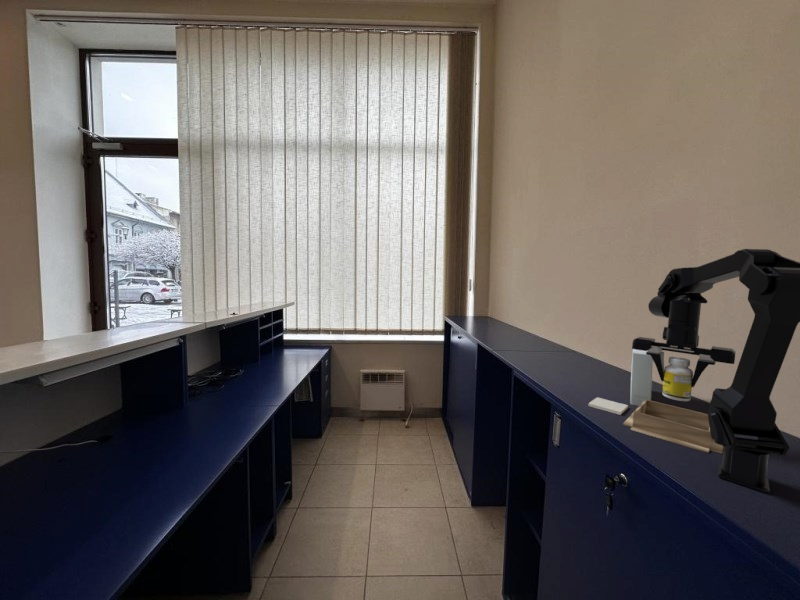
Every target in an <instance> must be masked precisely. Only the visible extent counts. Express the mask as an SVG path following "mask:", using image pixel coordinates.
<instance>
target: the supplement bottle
mask: <svg viewBox="0 0 800 600" xmlns="http://www.w3.org/2000/svg"><path fill="white" fill-rule="evenodd" d="M668 364H669V365H666V366H664V380H663V381H662V396H664V397H665V398H667V399H670V400H675V401H679V402H689V401H691V399H692V392H693V391H692V388H693V387H692V379H693V376H694V372H693V370H692V369H691V368H689V367H690V365H691V360H690V359H689V358H685V357H680V356H669V357H668Z"/></svg>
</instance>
